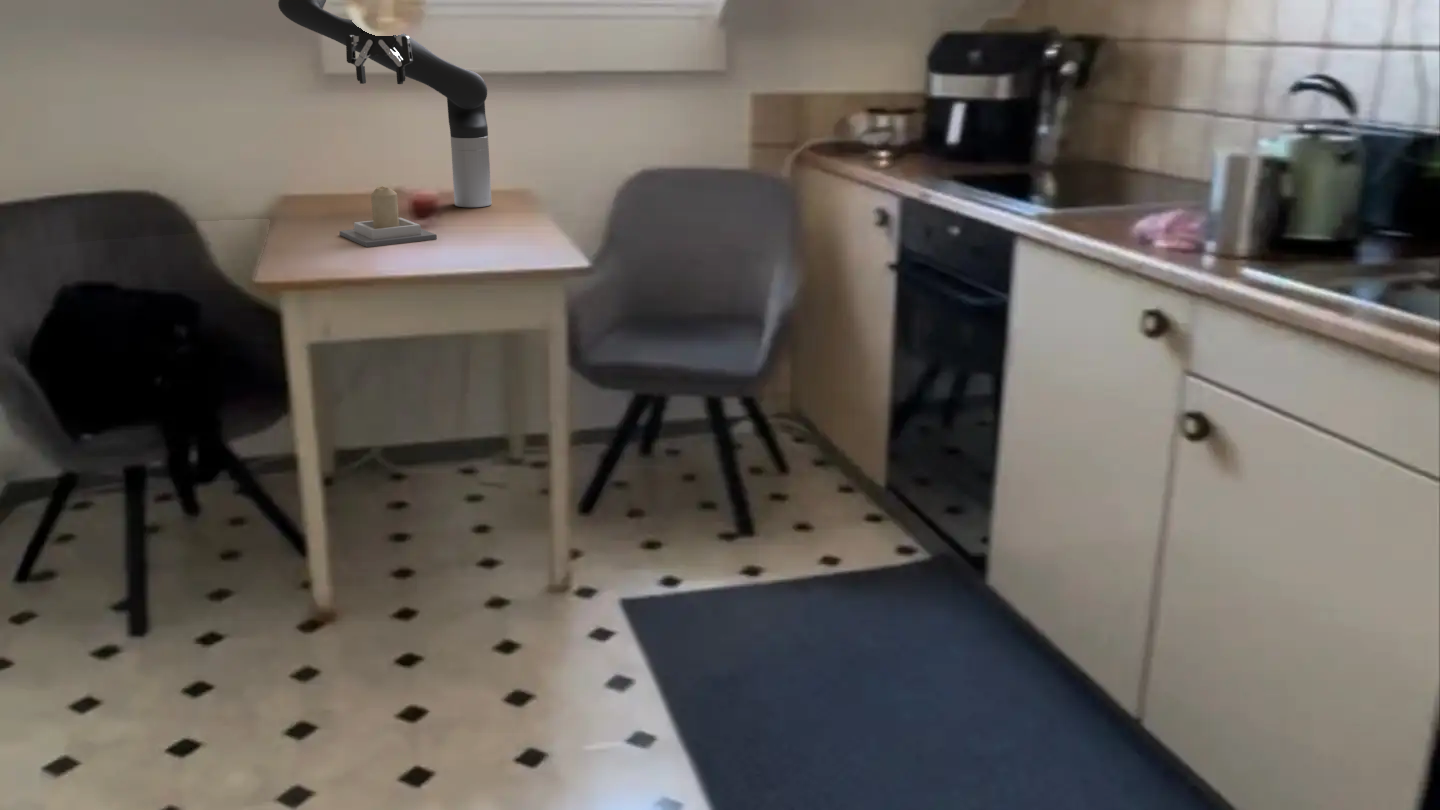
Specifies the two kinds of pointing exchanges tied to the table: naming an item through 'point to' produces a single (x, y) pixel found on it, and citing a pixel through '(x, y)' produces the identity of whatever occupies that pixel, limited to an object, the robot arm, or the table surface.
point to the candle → (384, 208)
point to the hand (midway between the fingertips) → (381, 83)
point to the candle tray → (387, 233)
